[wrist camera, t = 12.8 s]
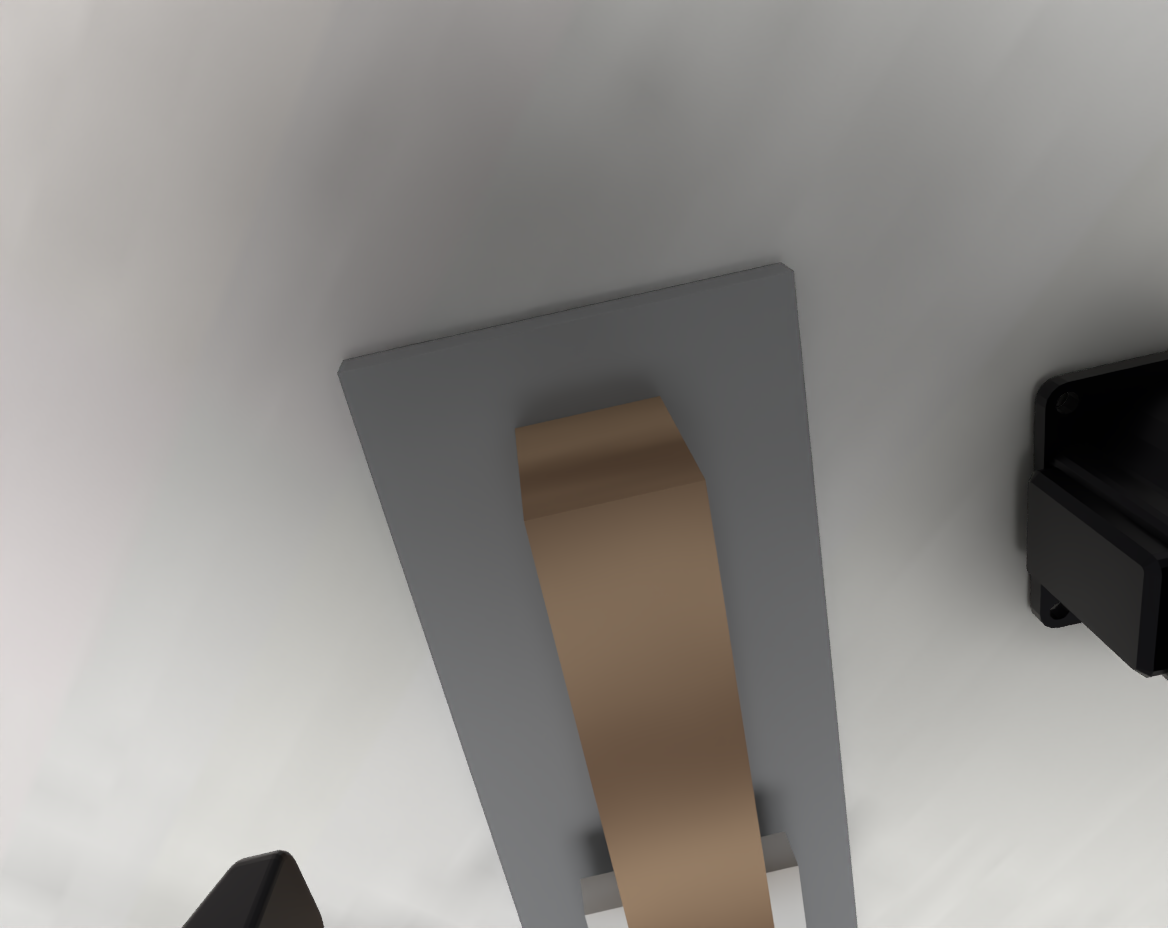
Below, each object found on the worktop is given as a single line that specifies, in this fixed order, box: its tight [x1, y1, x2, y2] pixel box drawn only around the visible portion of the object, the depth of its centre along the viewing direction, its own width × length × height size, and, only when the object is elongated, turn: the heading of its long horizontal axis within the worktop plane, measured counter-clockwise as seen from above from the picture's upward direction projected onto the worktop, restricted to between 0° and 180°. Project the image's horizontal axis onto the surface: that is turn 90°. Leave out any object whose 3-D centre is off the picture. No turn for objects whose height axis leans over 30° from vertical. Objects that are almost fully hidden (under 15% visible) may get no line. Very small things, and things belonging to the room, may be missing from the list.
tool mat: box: [338, 263, 857, 928], centre depth 22 cm, size 9×23×1 cm, turn 11°
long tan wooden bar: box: [515, 396, 806, 928], centre depth 20 cm, size 19×5×4 cm, turn 11°
